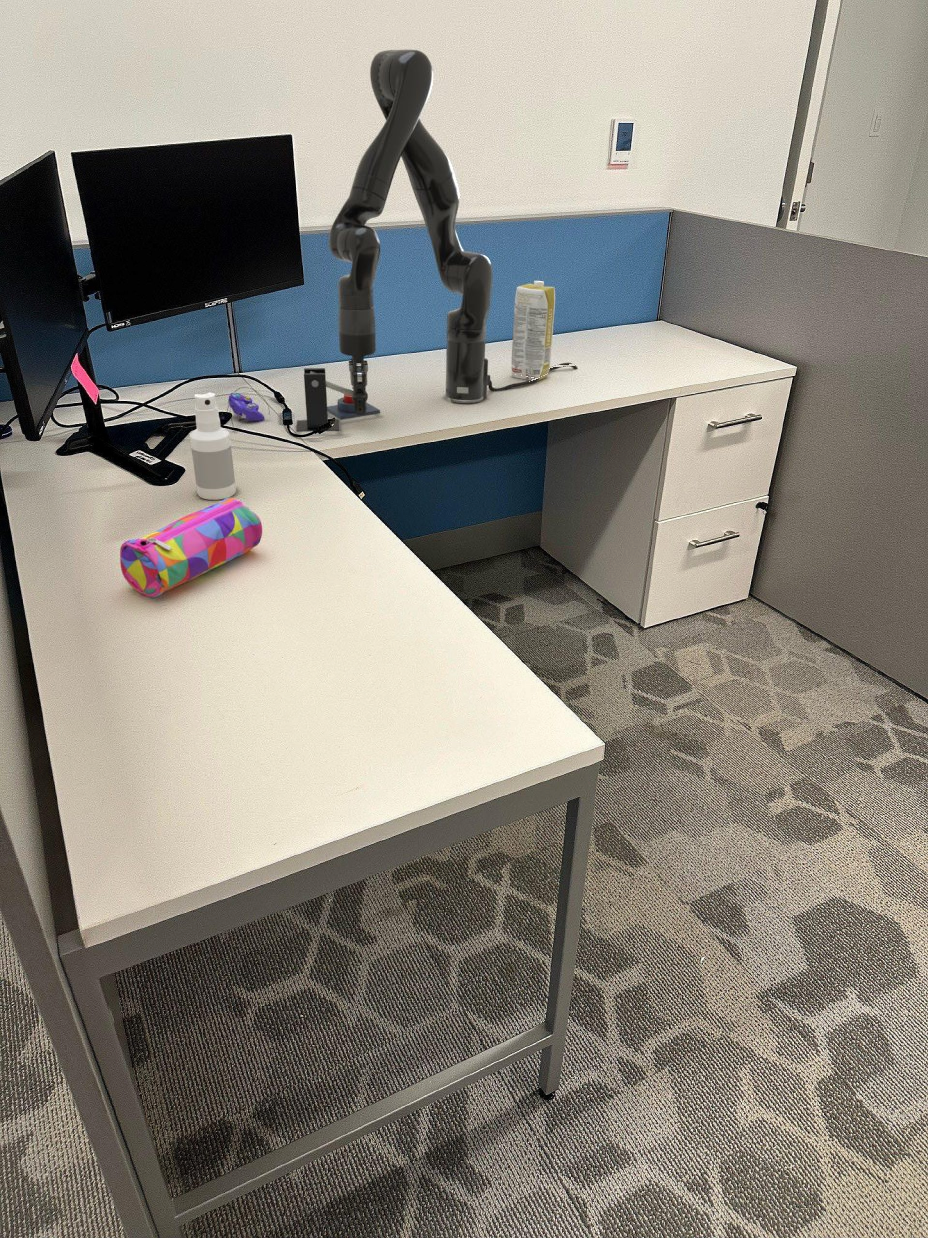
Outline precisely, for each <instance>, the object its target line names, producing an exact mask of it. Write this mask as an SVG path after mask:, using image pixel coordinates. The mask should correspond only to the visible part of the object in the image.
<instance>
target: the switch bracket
mask: <svg viewBox="0 0 928 1238" xmlns="http://www.w3.org/2000/svg"><path fill="white" fill-rule="evenodd" d="M310 371H312V372H315V373H310ZM303 381H304V383H303V385H304V398H305V413H306V415H305V416H306V419H300V420H299V419H298V420H296V431H295V432H296V433H297V432H298V433H301V432H317V431H316V429H317V428H319V427H321V426H322V425H324V424H326V423H328V420H329V415H328V413H329V412H327V407H328V398H327V397H328V396H327V395H328V394H327V387H326V381H327V378H326V368H325V367H305V368H303ZM334 420H335V422H334V425H333V426H332V427H331V428H329V429H325V430H321V431H320V432H339V431H340V423H339V422H340V421H339V420H340V419H334Z"/></svg>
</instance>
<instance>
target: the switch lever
mask: <svg viewBox="0 0 928 1238" xmlns="http://www.w3.org/2000/svg"><path fill="white" fill-rule="evenodd" d="M310 373H315V372H312V371H310ZM327 388H328V389H329V390H333V391H336V392H338V393H341V394H343V395H344V394H346V395H349V396H352V399H353V401H354V396H353V393H354V391H353V389H349V388H347V387H345V386H341V385H339V384H336V383H333V382H331V381H328V380H326V389H327ZM356 391H363V389H362V388H358V389H356ZM368 398H369V394H368V392H367V391H366V397H365V402H366V401H367V402H368ZM354 402H355V401H354Z"/></svg>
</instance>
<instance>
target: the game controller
mask: <svg viewBox="0 0 928 1238" xmlns="http://www.w3.org/2000/svg"><path fill="white" fill-rule="evenodd" d="M240 389H250V390H253V391H254V392H256V393H257V394H259V395H260V396H261V397H262V398H263V399H264V401H265V403H266V405H267V407H268V409H270V406H269V404H268V402H267V400H266V399H265V398H264V396H262V395H261V393H259V392H258V391H257V390H255V389H254V388H251V387H247V386H242V387H239V388H237V389H236V390H235V391H233V392H230V394H229V396H228V398H227V404H228V405H227V410H226V413H225V415H228V411H229V409H232V412H233V413H234V414H235V415H238V416H240V417H241V418H240V419H239V420H238V422H240V421H241V420H244V421H248V420H251V421H253V422H262V421H265V416H264V414H263V413H262V412H261V411H259V408H260V405H259V404H257V403H255V402H253V399H252V398H251V397H250V396H246V395H243V394H241V393H239V392H237V391H239V390H240ZM232 412H231V411H229V413H230V416H232V414H231V413H232ZM270 412H271V411H268V414H270ZM230 419H231V421H233V418H232V417H230ZM221 420H225V416H224V415H222V416H221ZM231 424H232V427H233V428H235V427H234V423H233V422H231Z"/></svg>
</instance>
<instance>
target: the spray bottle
mask: <svg viewBox="0 0 928 1238" xmlns="http://www.w3.org/2000/svg"><path fill="white" fill-rule="evenodd" d="M193 396H194V403H195V404H194V405H195V406H194V414H195V425H196V429H194V430H192V431H191V433H189V442H190V447H191V448H190V449H191V456H192V457H191V458H192V464H193V472H194V478H195V479H194V480H195V486H196V492H197V495H198V497H200V498H202V499H204V500H210V501H211V500H212V501H213V500H215V501H216V500H224V499H226V498H231V497H232V496H234V495H235V494H236V492H237V487H236V479H235V468H234V459H233V450H232V443H231V435H230V432H229V431H228V430H227V429H226V428H223V427H222V426H221V418H220V415H219V413H220V412H219V407H218V405H217V401H216V394H215V393H214V392H207V393H203V394H200V393H199V394H198V393H195V394H194V395H193Z"/></svg>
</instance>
